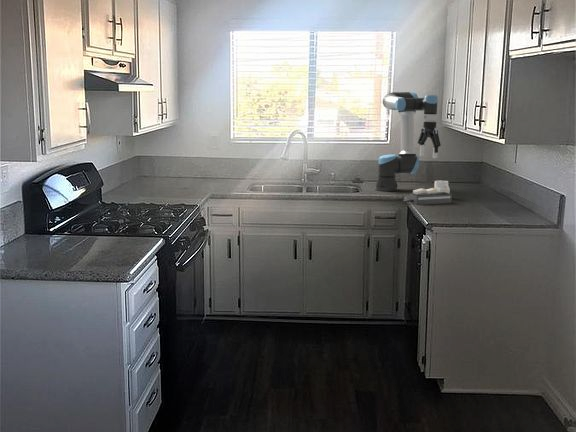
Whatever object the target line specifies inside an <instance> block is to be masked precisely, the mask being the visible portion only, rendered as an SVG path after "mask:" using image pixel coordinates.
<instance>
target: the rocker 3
mask: <svg viewBox="0 0 576 432" xmlns="http://www.w3.org/2000/svg"><path fill="white" fill-rule="evenodd" d="M436 189H437V191H441V192H446V193H449V190H447V189H442V188H436Z"/></svg>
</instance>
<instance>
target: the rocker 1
mask: <svg viewBox="0 0 576 432" xmlns="http://www.w3.org/2000/svg"><path fill="white" fill-rule="evenodd" d="M424 192H426V189H425V188H422V187H421V188H417V189H413V190H412V193H414V194H420V193H424Z"/></svg>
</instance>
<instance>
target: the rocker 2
mask: <svg viewBox="0 0 576 432" xmlns="http://www.w3.org/2000/svg"><path fill="white" fill-rule="evenodd" d="M434 192H437V189H436V188H434V187H431V188H427V189H426V192H424V193H427V194H430V193H434Z"/></svg>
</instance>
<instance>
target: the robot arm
mask: <svg viewBox="0 0 576 432" xmlns="http://www.w3.org/2000/svg"><path fill="white" fill-rule="evenodd" d="M438 97H439V96H438V95H436V94H426V95H425V96H424V97H419V96H418V94H417V93H416V92H413V91H412V92H411V91H402V92H401V91H400V92H399V91H396V92H394V91H393V92H389V93H387V94H386V95H384V97H383V98H382V104H383V107H384V108H386V110H387V109H388V110H392V111H397V112H398V114H399V115H400V152H399V153H398V156H397V154H393V153H392V154H384V155H380V156H379V158H378V164H377V165H378V168H377V169H378V171H377V180H376V183H375V187H374V189H375V190H376V191H380V192H382V191H383V192H395V191H398V190H399V185H398V182H397V178H396V176H397V175H411V174H416V173H417V171H418V169H419V168H420V167H419V166H420V158H419V157H424V156H425V147H426V146H425V145H426V144H425V143H426V141H427V140H428V138H430V140H431V143H432V145H433V147H432V159H438V152H439V147H441V146H442V144H441V140H440V137H439V130H438V129H437V130H436V128H437V120H438V119H437V118H438V103H439V101H438V100H439V99H438ZM418 111H423V123H422V124H423V125H422V127H423V128H421V130H420V135H419V138H418V140H417V144H419V156H418V155H417V152H415V147H414V146H415V144H414V143H415V140H414V138H415V137H414V136H415V133H414V132H415V131H414V130H415V126H414V125H415V123H414V122H415V119H414V117H415V116H414V115H415V114H416V113H417V112H418Z"/></svg>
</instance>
